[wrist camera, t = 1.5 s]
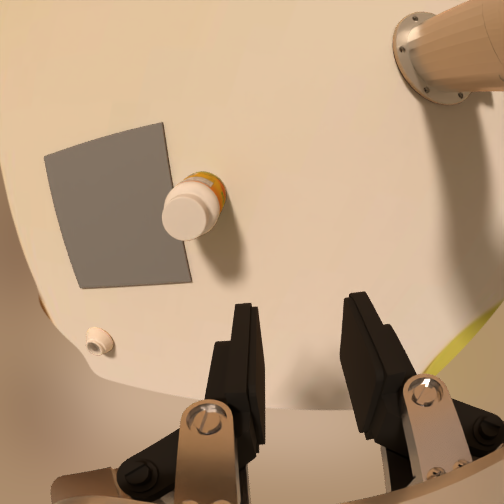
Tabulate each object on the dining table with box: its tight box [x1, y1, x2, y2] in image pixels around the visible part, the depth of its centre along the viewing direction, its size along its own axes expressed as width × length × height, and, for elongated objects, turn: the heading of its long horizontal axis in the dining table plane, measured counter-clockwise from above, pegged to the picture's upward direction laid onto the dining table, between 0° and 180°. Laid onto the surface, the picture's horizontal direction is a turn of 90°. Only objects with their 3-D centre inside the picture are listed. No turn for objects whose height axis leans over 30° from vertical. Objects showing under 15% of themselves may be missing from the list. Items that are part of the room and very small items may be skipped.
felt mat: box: [44, 122, 191, 288], centre depth 35 cm, size 18×20×1 cm
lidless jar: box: [86, 327, 113, 356], centre depth 43 cm, size 5×3×5 cm
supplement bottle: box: [162, 171, 226, 241], centre depth 29 cm, size 5×5×10 cm
